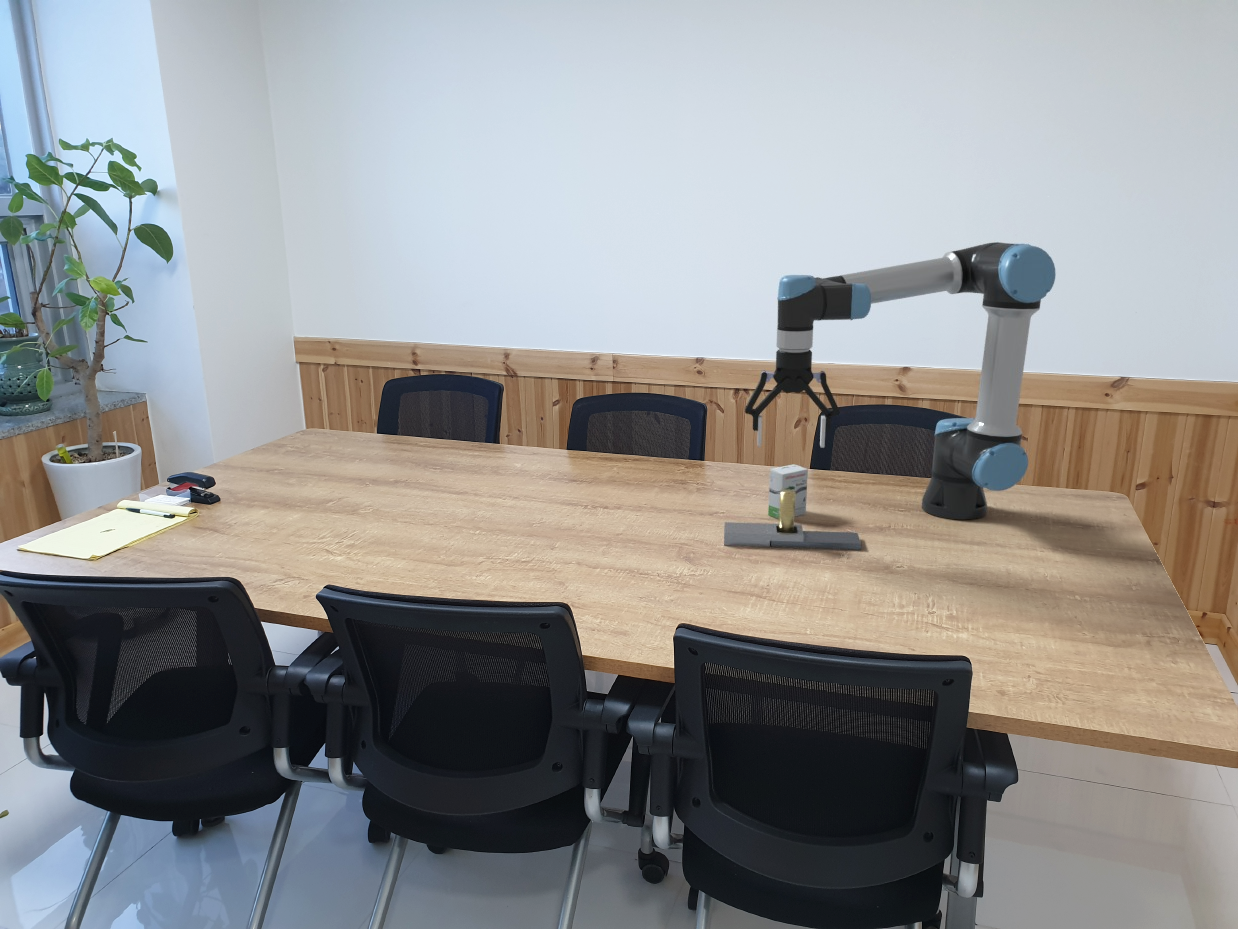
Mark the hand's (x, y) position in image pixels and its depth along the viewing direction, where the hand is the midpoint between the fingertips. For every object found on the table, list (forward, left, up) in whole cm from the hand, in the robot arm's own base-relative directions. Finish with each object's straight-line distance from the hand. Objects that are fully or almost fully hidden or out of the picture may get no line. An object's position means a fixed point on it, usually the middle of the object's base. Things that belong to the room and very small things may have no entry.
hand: (790, 445), depth 200 cm
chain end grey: (+5, 0, -23) cm, 23 cm away
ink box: (-1, -19, -23) cm, 30 cm away
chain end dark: (-6, 0, -23) cm, 23 cm away
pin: (0, 0, -23) cm, 23 cm away
